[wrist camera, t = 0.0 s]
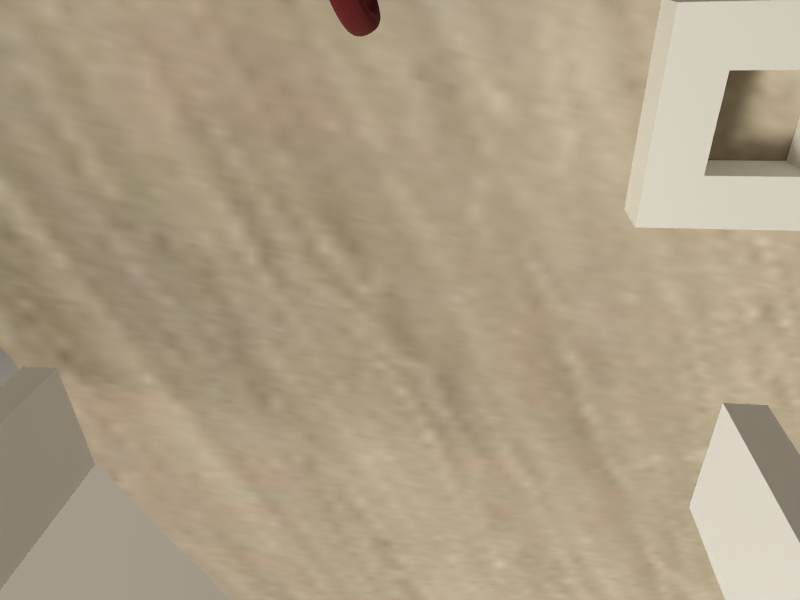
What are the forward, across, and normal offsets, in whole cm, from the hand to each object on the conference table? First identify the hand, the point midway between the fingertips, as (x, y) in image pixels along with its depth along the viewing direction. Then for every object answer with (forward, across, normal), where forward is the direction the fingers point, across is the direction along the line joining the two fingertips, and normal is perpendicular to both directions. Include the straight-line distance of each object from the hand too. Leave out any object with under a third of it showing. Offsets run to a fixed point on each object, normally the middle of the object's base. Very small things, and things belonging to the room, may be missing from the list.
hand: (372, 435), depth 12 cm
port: (+28, +18, 0) cm, 33 cm away
